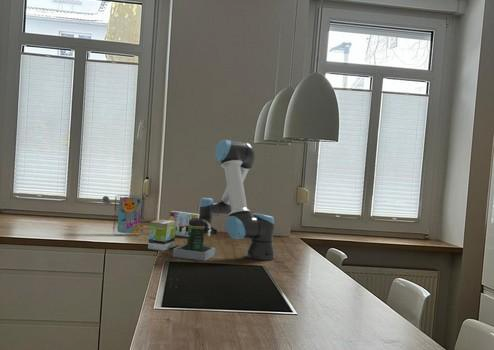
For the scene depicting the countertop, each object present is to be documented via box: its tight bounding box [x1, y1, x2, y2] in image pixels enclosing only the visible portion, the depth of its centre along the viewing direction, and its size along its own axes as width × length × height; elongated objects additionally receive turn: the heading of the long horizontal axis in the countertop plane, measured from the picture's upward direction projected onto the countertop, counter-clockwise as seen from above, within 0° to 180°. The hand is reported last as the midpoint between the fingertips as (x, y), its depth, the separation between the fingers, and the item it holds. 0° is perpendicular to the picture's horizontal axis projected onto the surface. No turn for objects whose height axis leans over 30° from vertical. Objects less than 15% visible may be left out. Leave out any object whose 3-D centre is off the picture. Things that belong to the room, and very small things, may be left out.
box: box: [102, 194, 146, 237], centre depth 312 cm, size 25×6×24 cm, turn 113°
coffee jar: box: [186, 218, 205, 252], centre depth 265 cm, size 10×8×19 cm
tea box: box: [147, 219, 176, 252], centre depth 281 cm, size 15×10×15 cm
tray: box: [172, 243, 217, 262], centre depth 266 cm, size 17×17×4 cm
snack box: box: [168, 210, 199, 238], centre depth 329 cm, size 21×6×15 cm, turn 65°
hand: (195, 232), depth 266 cm, fingers open, 13 cm apart
